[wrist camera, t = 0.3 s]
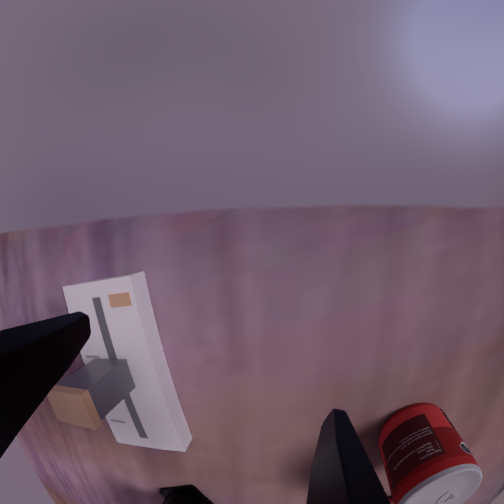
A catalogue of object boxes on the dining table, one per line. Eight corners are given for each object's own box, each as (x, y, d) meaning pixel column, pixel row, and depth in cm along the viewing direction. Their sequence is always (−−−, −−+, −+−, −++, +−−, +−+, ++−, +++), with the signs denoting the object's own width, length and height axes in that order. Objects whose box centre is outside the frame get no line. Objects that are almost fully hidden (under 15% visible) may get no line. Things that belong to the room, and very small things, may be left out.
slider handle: (139, 388, 24) (96, 430, 17) (102, 385, 25) (57, 420, 18) (129, 358, 24) (80, 395, 17) (92, 357, 25) (43, 388, 18)
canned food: (428, 450, 23) (457, 514, 13) (367, 455, 25) (382, 530, 14) (453, 398, 23) (499, 459, 12) (389, 400, 24) (420, 477, 13)
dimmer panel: (192, 438, 27) (184, 452, 25) (127, 431, 29) (117, 442, 26) (144, 271, 26) (129, 275, 24) (77, 282, 28) (62, 286, 25)
